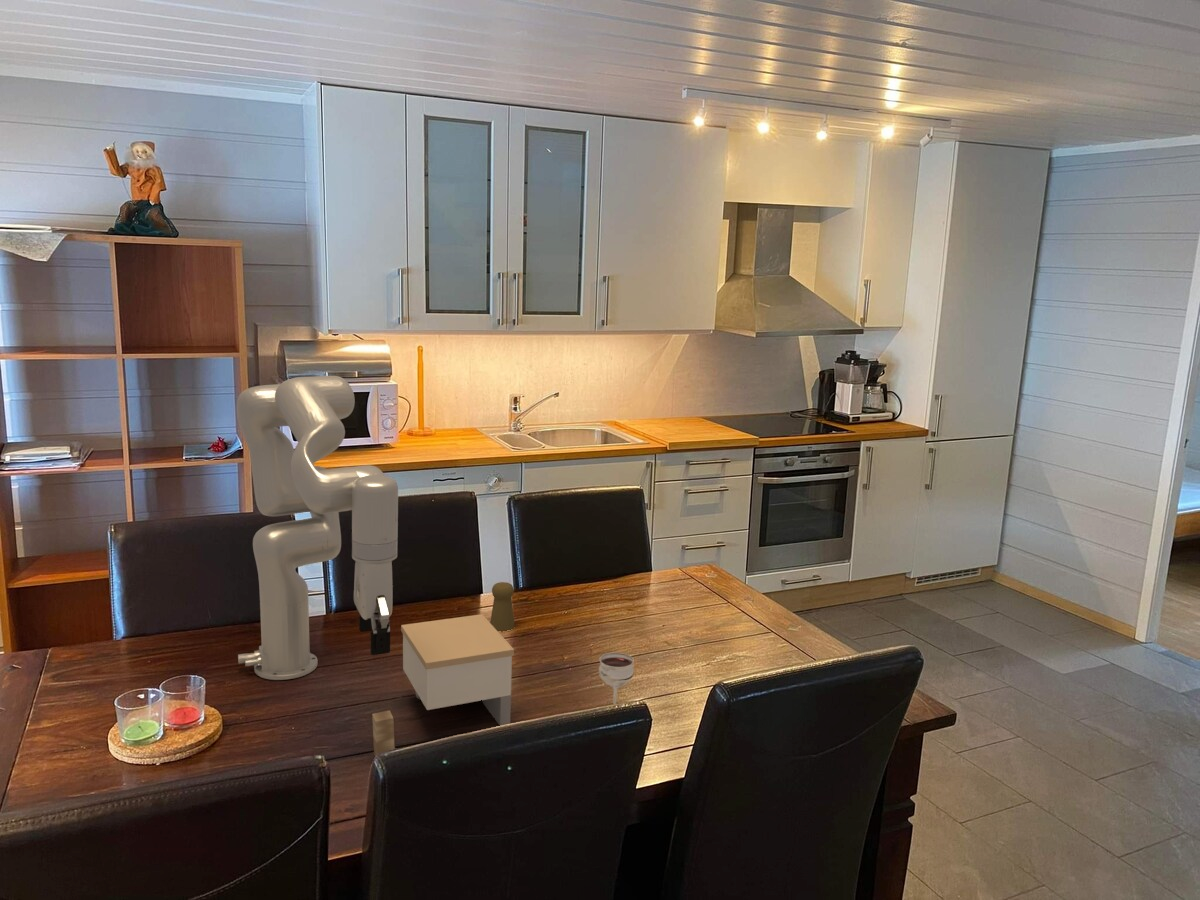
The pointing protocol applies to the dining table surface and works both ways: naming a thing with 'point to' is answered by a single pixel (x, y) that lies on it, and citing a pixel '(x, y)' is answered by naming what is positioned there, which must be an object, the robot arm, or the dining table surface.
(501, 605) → the olive pawn
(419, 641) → the low cabinet
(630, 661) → the wineglass
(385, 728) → the wooden mallet
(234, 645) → the dining table surface
